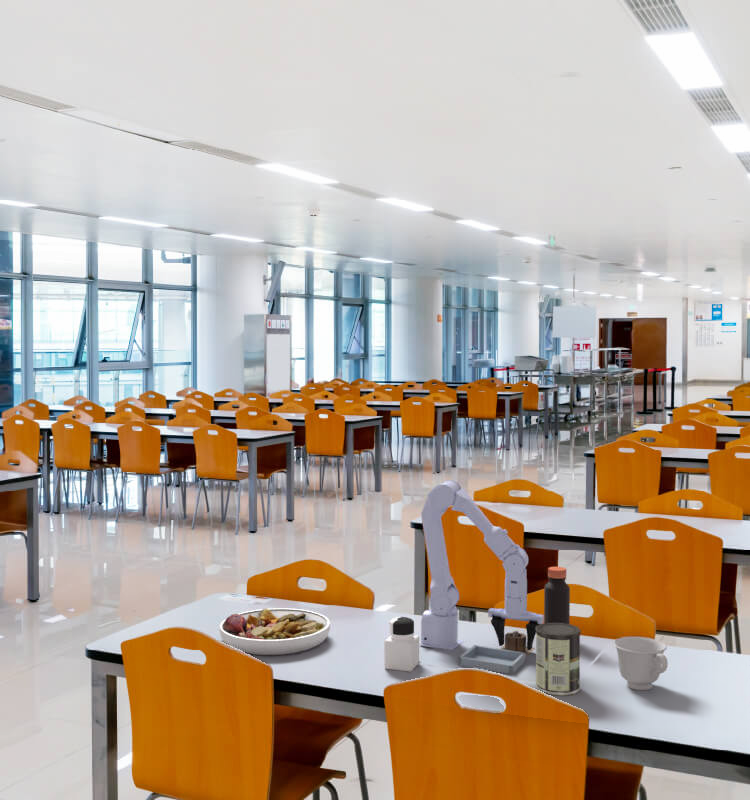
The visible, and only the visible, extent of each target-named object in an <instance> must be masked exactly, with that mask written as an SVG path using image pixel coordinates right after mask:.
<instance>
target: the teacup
mask: <svg viewBox="0 0 750 800" xmlns="http://www.w3.org/2000/svg"><path fill="white" fill-rule="evenodd" d="M613 645H614V647H615V648H616V653H617V661H618V668H619V673H620V676H621V677H622V678H623V679H624V680H625V681H627V682H626V685H627V687H628V688H631V689H633V690H637V691H648V690H651V689H652V688H653V684H654V683H655V682H657V680H659V677H660V675H661V674H663V673H664V672H665V673H666V671H667V668H668V658H667V656H666V655H665V654H664V653H665V651H666V650H667V649H668V647H667V645H666V644H665V643H664V642H662V641H661V640H659V639H655V638H651V637H645V636H623V637H619V638H617V639H615V640H614V641H613Z"/></svg>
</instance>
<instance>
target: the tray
mask: <svg viewBox="0 0 750 800" xmlns="http://www.w3.org/2000/svg"><path fill="white" fill-rule="evenodd" d="M526 662H527V656H526V653H524V652H517V651H511V650H504V649H501V648H497V647H489V646H484V645H479V644H478V645H477V644H473V645H471V647H470V648H468V649H467V650H466V651H465V652H463V653H462V654H461V655H460V656H458V666H459V667H465V668H471V667H475V668H474V669H477V668H483V669H488V670H487V671H489V670H491V671H490V672H495V671H497V672H496V673H502V674H507V675H513V674H514V673H515V672H516V671H518V669H519V668H520V667H521V666H522V665H523V664H524V663H526ZM483 669H482V670H483Z"/></svg>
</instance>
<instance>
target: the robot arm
mask: <svg viewBox="0 0 750 800" xmlns="http://www.w3.org/2000/svg"><path fill="white" fill-rule="evenodd" d="M450 507H451V511H454V512H455V511H456V512H460V513H463V514H464V515H465V516H466V517H467V518H468V519H469V520H470V521H471V522H472V523H473V524H474V525H475V527H476V528H478V529H479V531H480V532H482V533H483V537H484V538H483V542H484V543H485V544H486V545H487V546H488V548H489V549H490V550H491V552H492V553H494V554H495V556H496V557H497V558H498V560H500V561H502V567H503V569H504V571H505V578H504V608H492V607H491V608H489V609H488V610H487V611H488V614H487V617H488V618H491V619H490V623H491V626H492V627H493V630H494V632H495V634H496V637H497V641H498V642H497V643H498V646H499V647H503V646H504V645H505V626H506V625H505V624H506V620H514V621H522V622H528V623H526V624H525V630H526V647H527V650H531V649H532V648H533V644H534V641H535V638H536V626H538V625H540V624H544V614H538V613H536V612H531V611H527V610H528V609H527V608H528V607H527V606H528V603H527V602H528V579H527V575H528V574H527V568H526V567H527V566H528V565H529V556H528V554H527V552H526V550H525V549H523V548H522V547H520V545H519V544H518V543H517V544H516V543H515V542H514V541H513V540H512V539H511V537H509V535H508V533H509V532H508V530H507V529H505V528H504V529H503V528H502V527H501V526H495V525H493V523H491V521H490V520H489V518H488V517H487V516H486V514H484V512H483V511H482V510H481V509H480V507H479V505H477V503H475V501H474V500H473V499H472V498H471V496H470V495H469V493H468V492H467V490H466V489H464V488H462V487H461V485H460V484H459V483H458V481H455V480H451V479H450V480H449V479H448V480H445V481H443V482H442V483H440V484H438V485H437V484H436V486H434V487H433V488H432V490H430V492H429V493H427V498H426V501H425V502H424V506H423V508H422V511H421V513H420V514H421V521H422V527H423V534H424V540H425V545H426V552H427V558H428V564H429V565H428V566H429V570H430V576H431V582H430V587H429V591H430V595H429V599H428V606H429V608H430V609H426V610H424V611H423V613H422V616H421V621H420V628H421V629H420V630H421V631H420V632H421V633H420V641H421V642H420V643H419V647H420V646H421V647H427V648H432V649H433V648H438V649H445V650H450V651H451V650H454V649H455V648H456V647H458V646H459V645H461V644H462V643H463V642H464V641H463V640H460V639H458V635H459V633H458V631H459V629H458V627H459V617H458V615H459V610H458V608H457V606H456V605H457V603H458V602H459V600H460V593H459V589H458V588H457V587H456V584H455V581H454V578H453V576H452V574H451V572H450V566H449V565H450V564H449V559H448V554H447V546H446V542H445V535H444V528H443V522H442V516H444V514H445V512H446V511H447V510H448V509H449V508H450Z"/></svg>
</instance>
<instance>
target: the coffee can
mask: <svg viewBox="0 0 750 800" xmlns="http://www.w3.org/2000/svg"><path fill="white" fill-rule="evenodd" d="M580 637H581V629H580V628H579V627H578V626H576V625H573V624H571V623H570V624H566V623H544V622H543V623H542V624H540V625H538V626H536V634H535V643H536V644H535V646H536V647H535V648H536V649H535V653H536V654H535V656H536V657H535V665H536V666H535V667H536V668H535V672H536V673H535V687H536V689H537V690H538V689H539V690H541V691H543V692H546V693H548V694H547V695H550V694H551V695H552V696H571V695H574V694H578V693H579V691H580V690H581V687H580V683H581V682H580V681H581V680H580V669H581V668H580V666H581V665H580V663H581V662H580V657H581V655H580V654H581V653H580V647H581V644H580V643H581V642H580V641H581V640H580ZM539 690H538V691H539ZM541 691H540V692H541ZM543 692H542V693H543ZM546 693H545V694H546Z"/></svg>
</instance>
